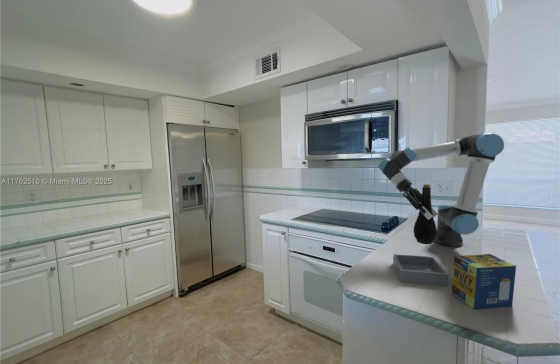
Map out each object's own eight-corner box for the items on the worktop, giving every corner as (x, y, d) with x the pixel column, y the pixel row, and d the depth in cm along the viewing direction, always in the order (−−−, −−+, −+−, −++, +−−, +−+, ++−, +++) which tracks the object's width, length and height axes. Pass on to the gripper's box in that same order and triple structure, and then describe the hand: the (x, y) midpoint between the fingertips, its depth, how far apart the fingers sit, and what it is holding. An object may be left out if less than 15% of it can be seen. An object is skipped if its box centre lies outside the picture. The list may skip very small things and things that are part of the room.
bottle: (433, 239, 137) (436, 183, 134) (438, 246, 127) (441, 186, 124) (411, 237, 141) (413, 183, 137) (414, 244, 131) (416, 185, 127)
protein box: (450, 293, 101) (453, 255, 99) (487, 291, 102) (490, 253, 100) (473, 310, 90) (476, 267, 89) (513, 307, 92) (517, 265, 90)
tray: (433, 267, 124) (434, 257, 123) (447, 286, 106) (448, 274, 106) (393, 263, 128) (393, 254, 127) (400, 281, 111) (400, 270, 110)
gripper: (404, 185, 149) (434, 217, 138) (387, 188, 136) (419, 224, 126) (413, 176, 144) (445, 209, 134) (398, 179, 132) (432, 216, 121)
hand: (433, 216), depth 130 cm, fingers closed on bottle, 6 cm apart
